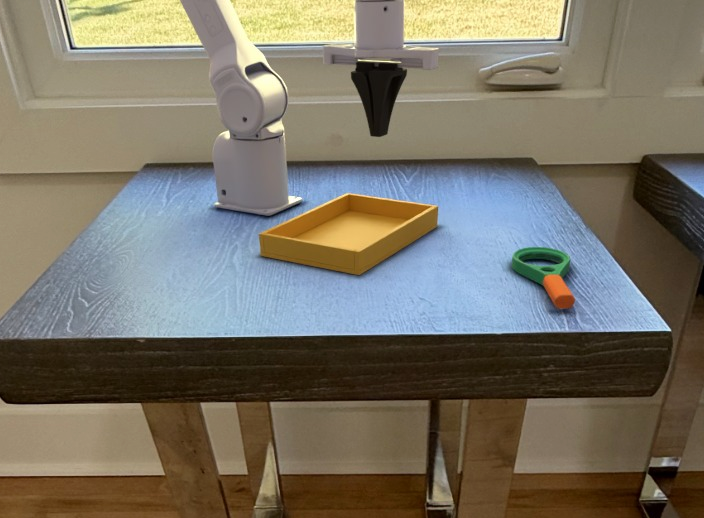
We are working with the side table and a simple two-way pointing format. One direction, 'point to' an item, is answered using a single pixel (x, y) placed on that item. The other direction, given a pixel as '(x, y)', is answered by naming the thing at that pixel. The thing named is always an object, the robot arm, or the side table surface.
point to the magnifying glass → (546, 272)
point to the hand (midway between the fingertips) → (378, 135)
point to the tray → (349, 232)
